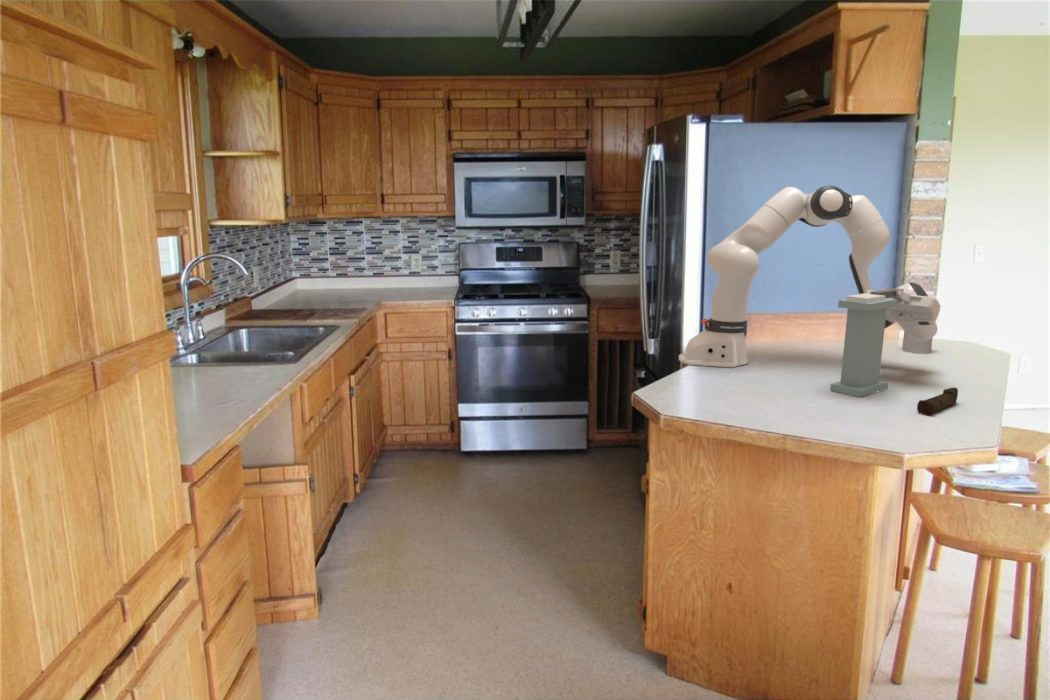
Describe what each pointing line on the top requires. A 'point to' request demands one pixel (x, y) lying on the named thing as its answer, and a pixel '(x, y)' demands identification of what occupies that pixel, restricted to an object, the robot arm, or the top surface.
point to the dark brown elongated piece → (938, 402)
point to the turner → (873, 296)
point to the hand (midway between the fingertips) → (890, 291)
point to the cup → (916, 345)
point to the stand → (863, 347)
